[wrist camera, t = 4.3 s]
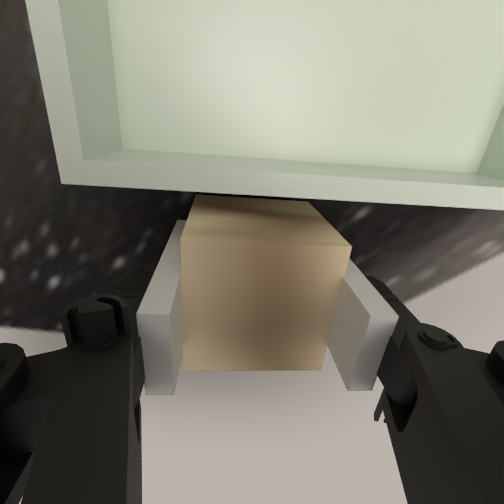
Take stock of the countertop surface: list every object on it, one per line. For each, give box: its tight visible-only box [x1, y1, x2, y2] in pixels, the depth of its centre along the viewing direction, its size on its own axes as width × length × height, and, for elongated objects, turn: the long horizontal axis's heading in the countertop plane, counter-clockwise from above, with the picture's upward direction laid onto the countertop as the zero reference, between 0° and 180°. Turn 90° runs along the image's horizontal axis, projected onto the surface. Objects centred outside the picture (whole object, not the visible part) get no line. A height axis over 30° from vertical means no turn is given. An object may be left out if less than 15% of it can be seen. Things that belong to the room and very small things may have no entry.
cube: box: [180, 195, 352, 371], centre depth 12 cm, size 5×5×5 cm
